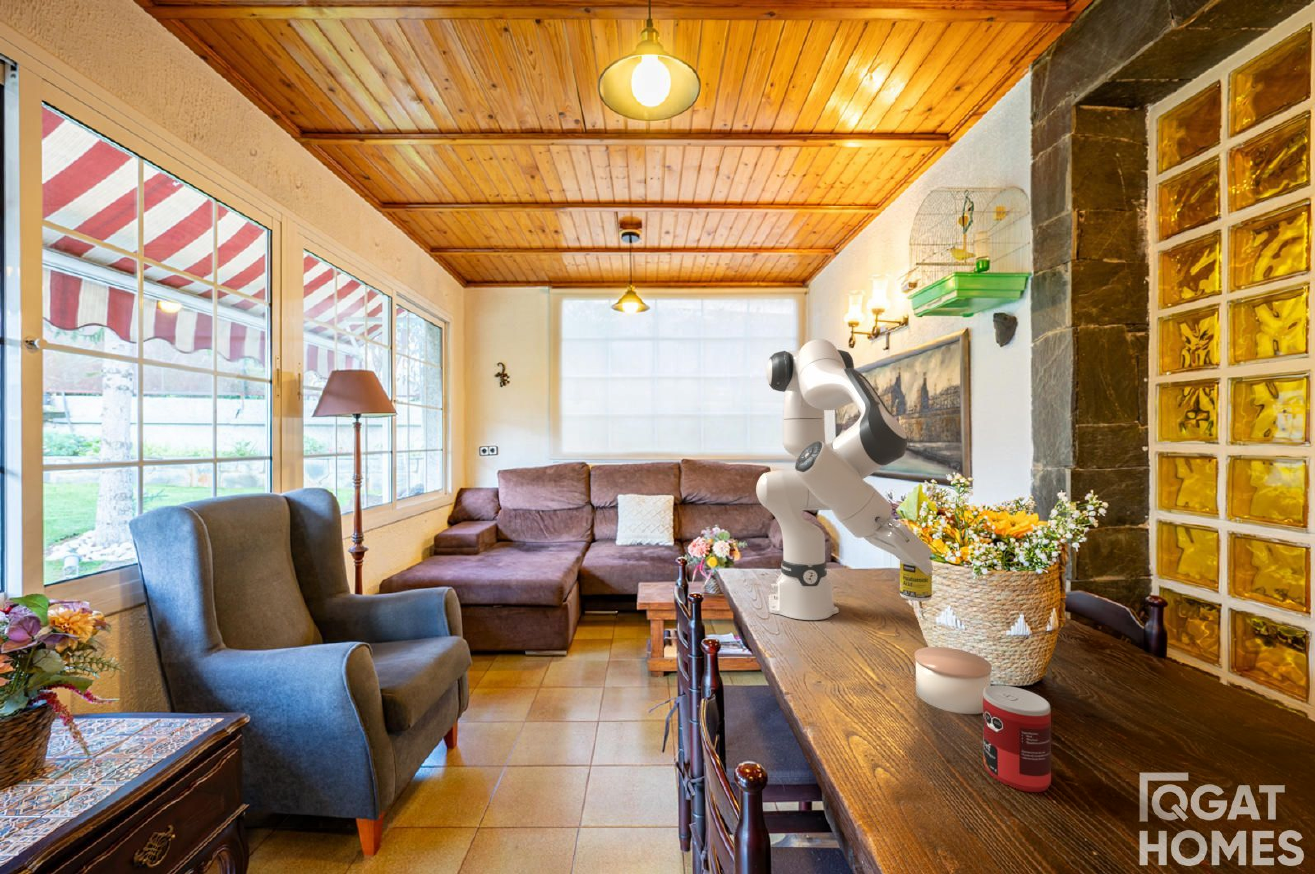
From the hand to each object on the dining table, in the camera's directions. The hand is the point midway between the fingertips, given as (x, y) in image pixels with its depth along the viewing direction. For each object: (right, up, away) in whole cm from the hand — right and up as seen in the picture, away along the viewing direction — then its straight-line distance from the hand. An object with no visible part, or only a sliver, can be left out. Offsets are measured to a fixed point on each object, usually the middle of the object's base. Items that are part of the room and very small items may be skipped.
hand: (919, 567), depth 100 cm
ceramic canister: (+5, -24, -2) cm, 24 cm away
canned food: (+2, -24, -25) cm, 34 cm away
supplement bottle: (-1, -6, 0) cm, 6 cm away
